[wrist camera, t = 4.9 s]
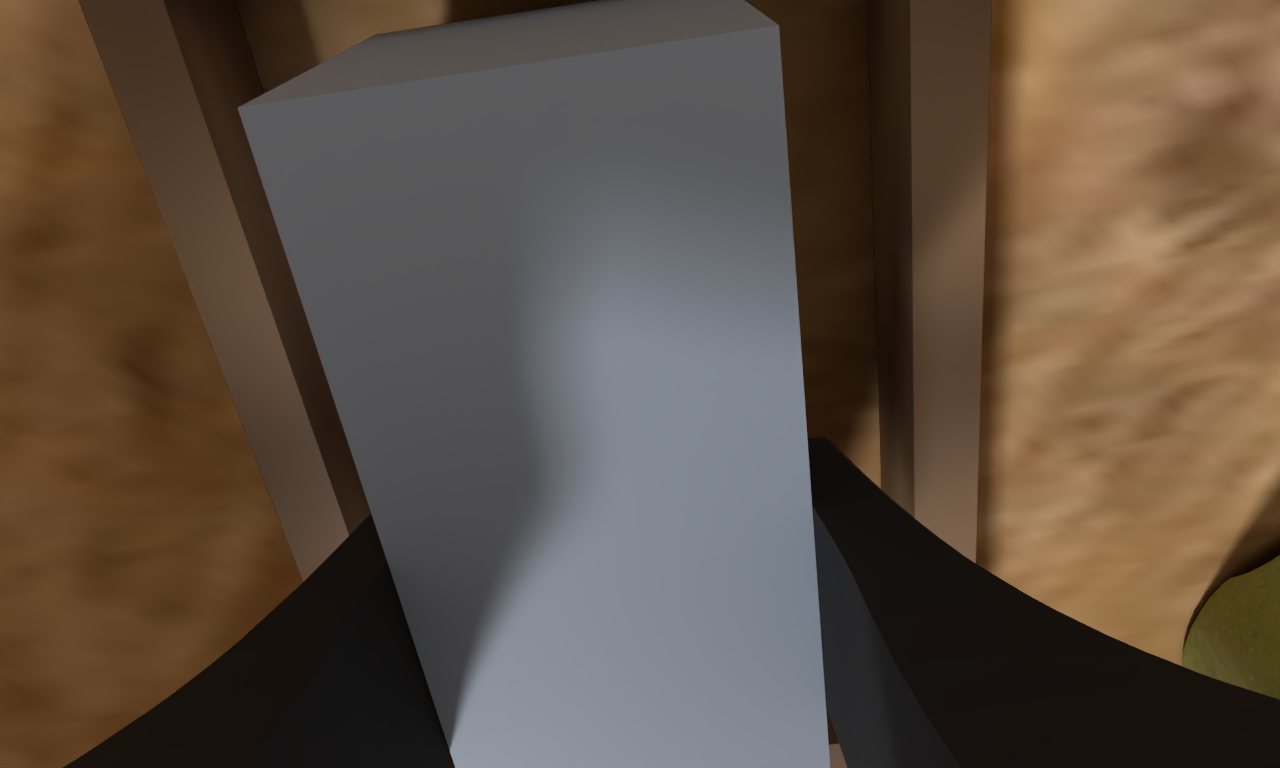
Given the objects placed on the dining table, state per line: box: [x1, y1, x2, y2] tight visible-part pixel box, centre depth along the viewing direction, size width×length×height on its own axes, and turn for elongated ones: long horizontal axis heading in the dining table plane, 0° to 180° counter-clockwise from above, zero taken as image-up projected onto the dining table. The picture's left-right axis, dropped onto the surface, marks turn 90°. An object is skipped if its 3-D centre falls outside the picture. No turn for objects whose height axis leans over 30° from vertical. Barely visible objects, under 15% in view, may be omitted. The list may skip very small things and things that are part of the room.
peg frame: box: [79, 0, 992, 768], centre depth 15 cm, size 16×11×2 cm
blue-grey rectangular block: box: [238, 0, 830, 768], centre depth 13 cm, size 12×4×5 cm, turn 8°
